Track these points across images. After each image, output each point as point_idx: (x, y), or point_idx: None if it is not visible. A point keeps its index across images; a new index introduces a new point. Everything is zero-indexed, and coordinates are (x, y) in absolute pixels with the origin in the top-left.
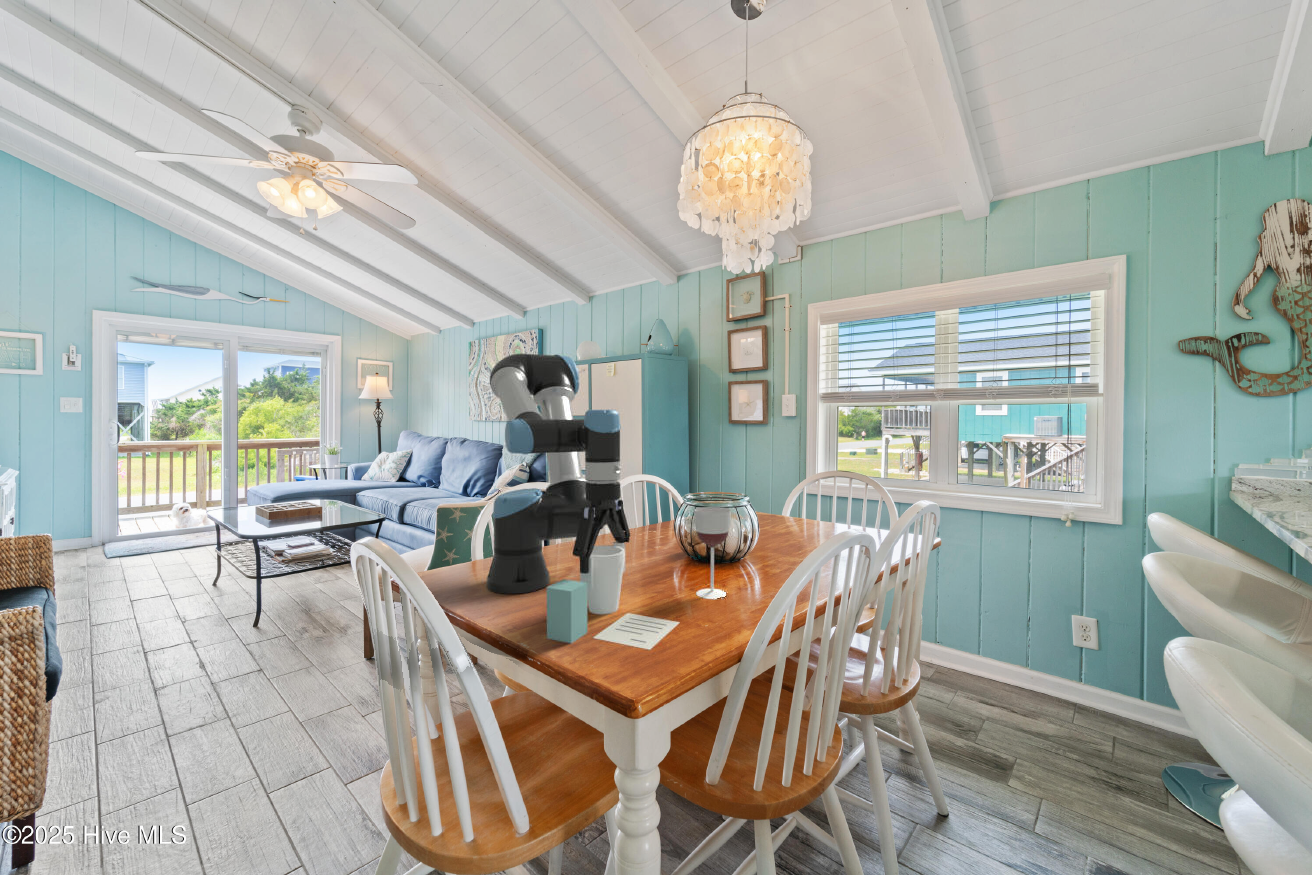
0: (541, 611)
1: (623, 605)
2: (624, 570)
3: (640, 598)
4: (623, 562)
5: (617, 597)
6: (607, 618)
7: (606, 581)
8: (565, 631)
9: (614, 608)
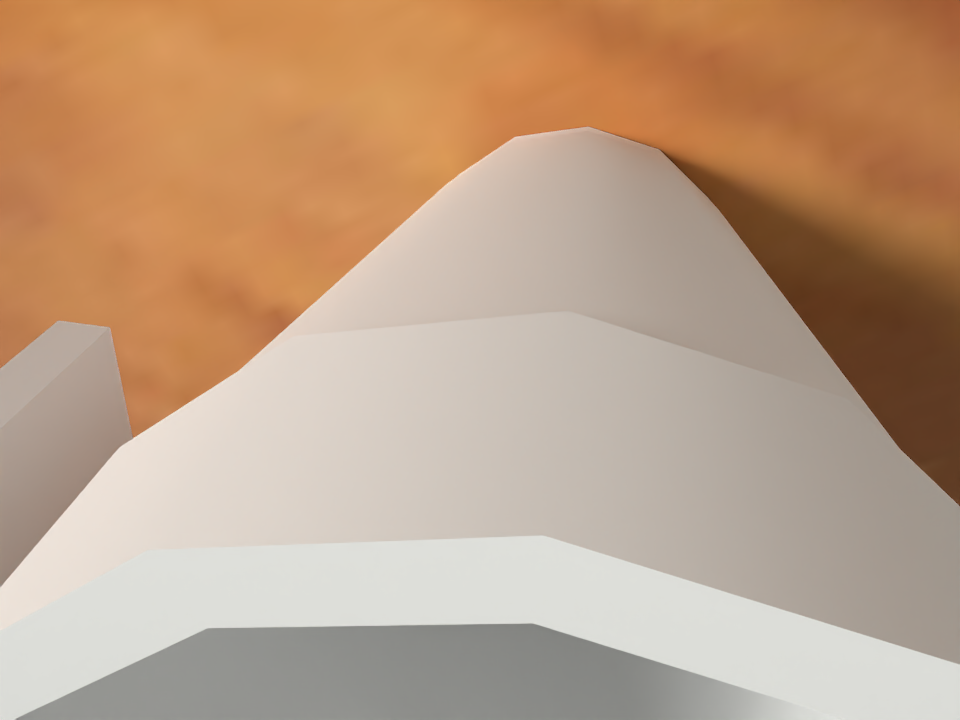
0: None
1: (375, 128)
2: (68, 333)
3: (89, 29)
4: (460, 324)
5: (590, 158)
6: (805, 138)
7: (842, 378)
8: None
9: (627, 145)
